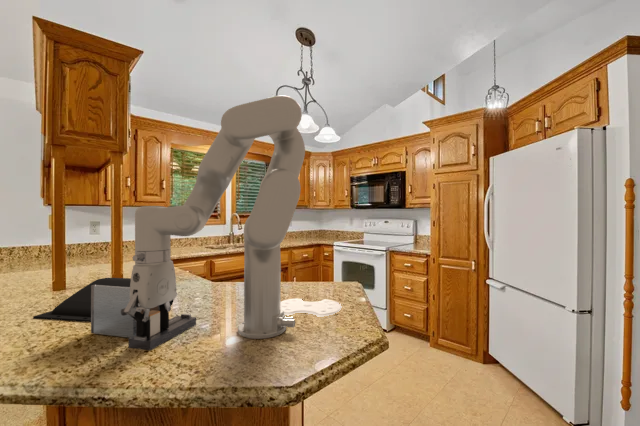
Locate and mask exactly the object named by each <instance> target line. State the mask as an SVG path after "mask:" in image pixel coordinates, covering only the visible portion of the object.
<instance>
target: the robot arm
mask: <svg viewBox="0 0 640 426" xmlns="http://www.w3.org/2000/svg"><path fill="white" fill-rule="evenodd" d="M302 112H303V111H302V108H301V105H300V104H299V102H298V101H297V100H296V99H294V98H293V97H291V96H288V95H274V96H271V97H270V96H269V97H266V98H262V99H257V100H254V101H251V102H250V101H249V102H246V103H242V104H239V105H235V106H232V107H230V108H228V109H227V110H225V112H224V113H223V114H222V116H221V119H220V129H219V132H218V133H217V135H216V137H215V138H214V140H213V142H212V143H211V145H210V146H209V149H208V150H207V151H206V153H205V154H204V156H203V158H202V160H201V161H200V164H199V166H198V169H197V176H196V180H195V183H194V185H193V188H192V190H191V192H190V194H189V195H188V197H187V198H186V200H185V202H184V204H183V205H176V206H157V205H156V206H155V205H152V206H151V205H149V206H147V205H145V206H143V205H142V206H140V207H137V208H136V210H135V212H134V255H133V256H132V261H133V262H134V264H133V265H132V270H131V275H130V278H131V282H130V301H129V303H128V305H127V307H126V308H125V310H124V312H125V313H126V314H128V315H130V316H131V317H132V318H134V320H135V321H137V336H145V337H147V338H149V337H150V320H148V316H149V311H150V309H151V308H154V307H156V306H158V310H159V311H160V328H162V329H167V328H169V320H170V313H169V312H171V311H172V310H171V309H172V308H171V307H172V305H173V303H174V301H175V300H176V298H177V296H178V292H177V277H176V269H175V265H174V261H173V260H172V259H171V255H172V254H171V249H172V248H171V245H172V244H171V241H172V240H171V236H177V237H190V236H193V235H195V234H198V233H199V232H201V231H203V230H202V229H203V228H204V227H205V226H206V224H207V222H208V221H209V219H210V217H211V216H212V214H213V212H214V211H215V209H216V207H217V205H218V203H219V202H220V200H221V198H222V196H223V194H224V193H225V192H226V190H227V189H228V188H229V185H230V184H231V182H232V180H233V179H234V176H235V175H236V173H237V171H238V169H239V168H240V166H241V164H242V162H243V160H244V159H245V157H247V154H248V152H249V150H250V149H251V147H252V145H253V144H254V141H255V139H258V138H262V137H266V136H269V137H270V139H271V140H272V142H273V144H274V145H273V146H274V149H273V153H272V155H271V158H270V162H269V165H268V167H267V169H266V173H265V175H264V177H263V178H262V180H261V182H260V185H259V190H258V193H257V196H256V198H255V201H254V203H253V207H252V209H251V212H250V215H249V216H247V219H246V220H245V223H244V227H243V242H244V243H243V245H244V247H243V249H244V254H243V255H244V257H243V258H244V262H243V263H244V265H243V266H244V269H243V270H244V271H243V272H244V274H243V278H244V279H243V282H244V283H243V289H244V290H243V321H242V322H241V323H239V325H238V326H237V333H238V334H239V335H240V336H242V337H244V338H247V339H252V340H253V339H258V340H261V339H268V338H274V337H277V336H279V335H282V334H283V333H284V332H285V331H286V330H287V328H295V326H296V320H295V318H294V317H293V316H291V317H286V316H285V315H284V311H282V310H281V300H282V299H281V295H282V294H281V290H282V289H281V276H282V275H281V273H282V263H281V261H282V258H281V255H282V254H281V244H282V242H284V239H285V238H286V236H287V233H288V230H289V229H290V225H291V222H292V219H293V217H294V213H295V211H296V208H297V206H298V202H299V200H300V197H301V196H300V195H301V190H302V189H301V187H302V186H301V182H300V179H299V176H300V173H301V170H302V166H303V164H304V159H305V155H306V145H305V141H304V139H303V135H302V133H301V132H300V131H299V129H298V126H299V125H300V124H301V120H302V116H303V115H302ZM136 307H137V308H136ZM135 308H136V310H135ZM142 310H144V312H143V314H142V313H141V312H142Z"/></svg>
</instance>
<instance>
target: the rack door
mask: <svg viewBox="0 0 640 426" xmlns="http://www.w3.org/2000/svg"><path fill="white" fill-rule="evenodd" d="M129 301H130V287H119V286H104V285H91V322H90V334H97V335H104V336H105V335H106V336H112V337H113V336H114V337H123V338H128V339H129V338H131V337H133V336H136V321H135V320H134V318H132V317H131V316H130V315H128V314H126V313H125V312H124V310H125V308H126V307H127V305H128V303H129ZM136 308H137V307H136ZM136 308H135V310H136Z"/></svg>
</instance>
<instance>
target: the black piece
mask: <svg viewBox="0 0 640 426" xmlns="http://www.w3.org/2000/svg"><path fill="white" fill-rule="evenodd" d="M130 282H131V277H130V278H126V277H104V278H103V277H102V278H98V279H95V280H94V281H92V282H90V283H89V284H87V285H86V286H84V287H83V288H81V289H79V290H78V291H76V292H75V293H73V294H72V295H70V296H69V297H68V298H66V299H64V300H63V301H61V302H60V304H58V305H57V306H55V307H54V308H53V309H52V310H50V311H47V312H43V313H40V314H37V315H35V316H33V317H32V318H33V319H37V320H49V321H64V322H66V321H67V322H80V323H81V322H83V323H91V285H104V286H119V287H130Z"/></svg>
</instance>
